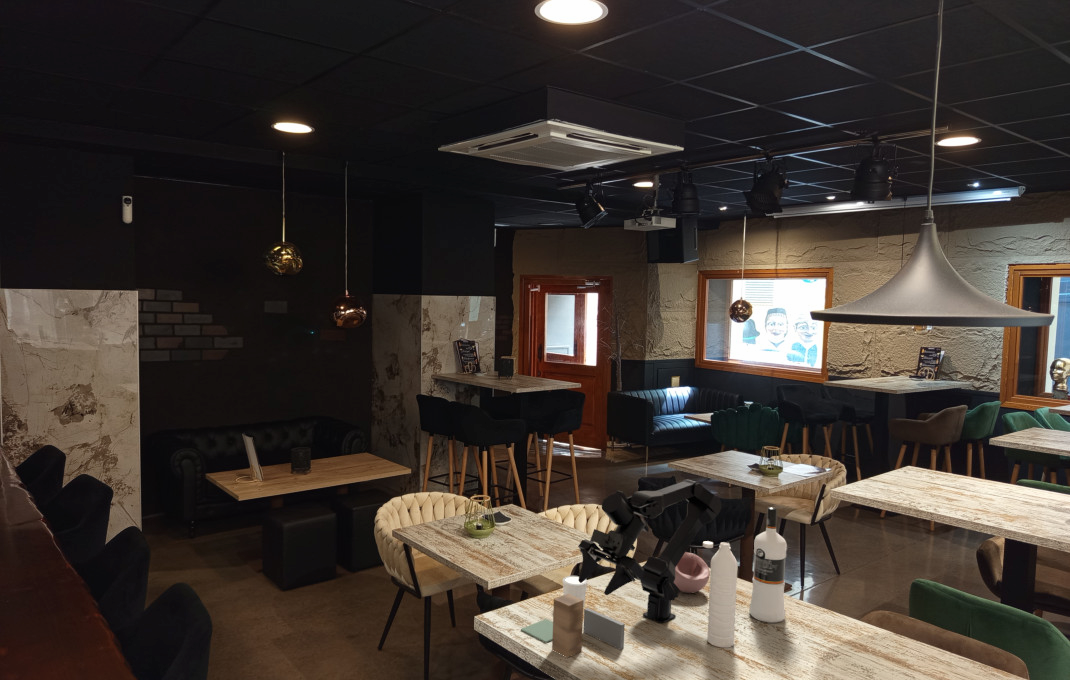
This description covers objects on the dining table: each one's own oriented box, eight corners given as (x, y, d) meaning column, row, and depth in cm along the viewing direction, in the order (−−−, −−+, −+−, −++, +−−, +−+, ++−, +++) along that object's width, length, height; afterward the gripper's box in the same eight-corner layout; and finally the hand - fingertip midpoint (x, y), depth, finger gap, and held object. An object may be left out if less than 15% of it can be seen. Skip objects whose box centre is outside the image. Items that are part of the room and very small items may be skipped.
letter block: (566, 643, 173) (568, 593, 173) (582, 651, 170) (584, 599, 169) (552, 650, 170) (553, 599, 169) (567, 658, 166) (569, 605, 165)
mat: (545, 620, 186) (546, 618, 186) (571, 632, 179) (571, 630, 179) (520, 630, 180) (520, 628, 180) (546, 643, 173) (546, 641, 173)
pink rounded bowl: (682, 601, 201) (684, 562, 200) (659, 586, 212) (660, 548, 211) (717, 596, 205) (718, 557, 205) (692, 581, 216) (694, 544, 216)
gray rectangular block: (586, 630, 180) (587, 607, 180) (623, 648, 172) (624, 623, 172) (583, 632, 180) (584, 609, 179) (620, 649, 171) (621, 625, 171)
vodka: (792, 621, 190) (798, 510, 189) (765, 626, 187) (770, 513, 186) (768, 607, 199) (773, 501, 198) (741, 612, 195) (747, 504, 194)
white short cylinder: (584, 611, 192) (585, 586, 192) (559, 608, 194) (560, 583, 193) (587, 601, 199) (588, 576, 199) (563, 598, 200) (564, 574, 200)
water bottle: (729, 636, 180) (734, 539, 179) (737, 648, 174) (742, 547, 173) (695, 635, 180) (699, 538, 179) (702, 647, 173) (706, 546, 172)
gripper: (584, 508, 184) (550, 558, 178) (637, 526, 170) (602, 582, 163) (605, 532, 189) (573, 582, 183) (658, 552, 175) (625, 607, 169)
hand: (592, 588), depth 174 cm, fingers open, 9 cm apart
